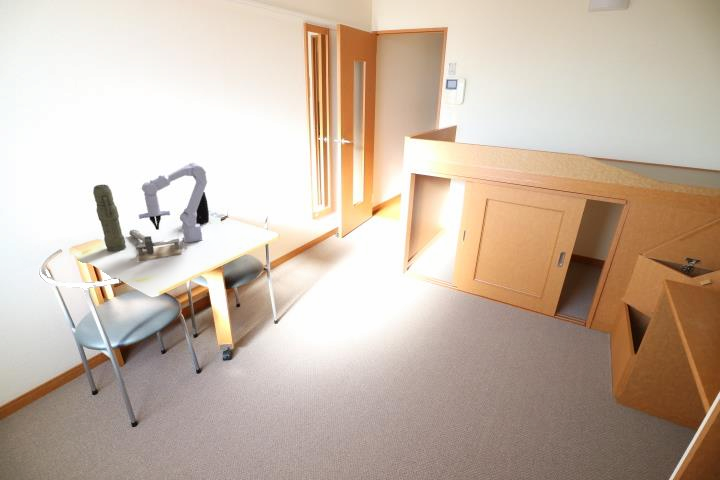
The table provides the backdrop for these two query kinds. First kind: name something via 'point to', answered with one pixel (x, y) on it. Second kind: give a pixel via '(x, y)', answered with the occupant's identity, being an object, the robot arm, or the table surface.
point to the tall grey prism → (149, 245)
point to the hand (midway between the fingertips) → (157, 229)
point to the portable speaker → (202, 210)
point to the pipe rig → (159, 250)
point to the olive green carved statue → (109, 218)
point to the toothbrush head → (138, 235)
